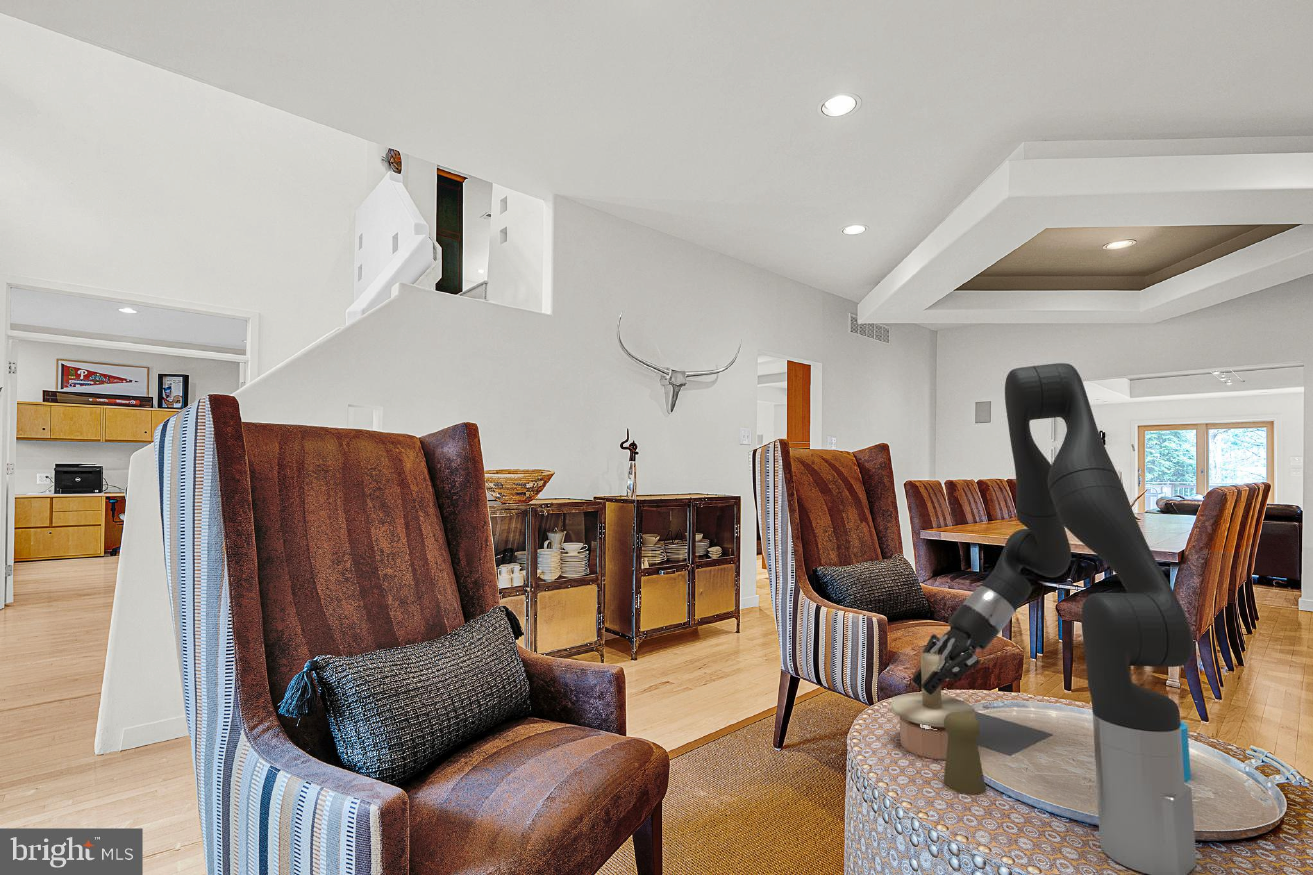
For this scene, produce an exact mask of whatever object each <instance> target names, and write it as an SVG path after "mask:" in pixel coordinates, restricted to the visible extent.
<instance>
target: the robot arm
mask: <svg viewBox="0 0 1313 875" xmlns="http://www.w3.org/2000/svg"><path fill="white" fill-rule="evenodd" d="M1004 383H1005V384H1004V401H1005V410H1006V418H1007V426H1008V432H1009V440H1010V445H1011V451H1012V458H1013V463H1014V471H1015V472H1014V473H1015V488H1016V489H1015V490H1016V492H1015V495H1016V497H1015V500H1016V501H1015V502H1016V503H1015V505H1016V510H1015V511H1016V513H1015V514H1016V518H1017V520H1018V521H1019V523H1020V524H1021V525H1023V526H1024V527H1025V528H1021V529H1020V528H1019V529H1018V530H1016V531H1014V532H1013V533H1012V534H1010V536H1009V537H1008V538H1007V539H1006V542H1005V544H1004V546H1003V549H1002V551H1001V554H1000V555H999V558H998V560H997V562H996V565H995V567H994V568H993V571H992V572H991V573H990V574H989V575H988V577H986V579H985V580H984V581H983V582H982V583H981V584H980V585H979V586H978V588H977V589H976V590H974V591H973V592H972V593H971V594H970V595H969V596H968V597H967V598H966V599H965V601H963V603H962V604H961V605H960V606H959V608H957V610H956V611H954V613H953V614H952V616H950V618H949V619H948V625H949V628H950V629H949V630H947V632H945V633H944V634H943V635H942V636H940V637H938V636H937V635H936V634H935V633H933V634H932V635H931V636H930V637H929V639H928V642H927V643H926V645H925V647H924V649H923V650H922V653H934V654H937V655H939V657H940V663H939V664H938V666H937V667H936V669H935V671H936V672H935V671H933V672H932V673H931V674H930V675H929V676H928V678H927V679H926V680H925V681H924V682H923V683H922V678H921V667H920V668H919V669H918V670H917V672H915V674H914V675H913V676H912V677H911V682H912V683H913V684H914V685H915V686H916V687H918V688H919V689H922V688H923V689H924V690H925V691H926V692H927V693H928V694H930V695H931V694H933V693H934V692H935V691H936V689H937V688H938V687H939V686H940V685H941V686H942V683H943V682H944V681H946V682H947V681H949V680H952V681H953V682H955V681H957V680H959V679H960V678H961V677H963V676H964V675H966V674H967V673H968V672H970V671H971V670H973V669H974V668H975V667H977V666H978V665H979V664H980V663H981V660H980V659H979V658H978V657H977V656H976V654H975V653H976V651H977V650H979V651H980V650H981V651H985V650H986V649H987V648H988V646H989V645H990V644H991V643H992V642H993V641H994V640H995V639H996V638H997V636H998V635H999V634H1000V632H1002V630H1003V629H1004V628H1005V627H1006V625H1007V624H1009V622H1010V620H1011V619H1012V617H1013V616H1014V614H1015V612H1016V611H1017V610H1018V609H1019V608H1020V607H1021V606H1022V605H1023V603H1024V602H1025V601H1026V600H1027V599H1028V598H1029V596H1030V595H1031V593H1032V590H1033V589H1032V584H1031V583H1030V582H1029V580H1027V578H1026V577H1024V576H1023V574H1021V573H1020V572H1021V569H1022V568H1026V569H1029V570H1031V571H1032V572H1035V573H1038V574H1039V575H1041V576H1044V577H1048V578H1057V577H1059V576H1062V575H1063V574H1064V573H1066V571H1067V570H1068V568H1069V566H1070V564H1071V561H1072V549H1071V545H1070V544H1071V543H1070V540H1069V538H1068V535H1067V531H1069V532H1070V534H1072V535H1073V536H1074V537H1075V538H1076V539H1077V540H1079V541H1080V543H1082V544H1083V546H1086V547H1087V548H1088V549H1089V550H1091V551H1092V552H1093V553H1094V554H1095V555H1096V556H1098V557H1099V558H1100V559H1101V560H1102V561H1103V562H1105V563H1106V564H1107V566H1108V567H1110V568H1111V570H1112V571H1113V572H1114V574H1115V575H1116V576H1117V578H1118V579H1119V580H1120V582H1121V584H1122V586H1123V587H1124V589H1125V591H1126V592H1096V593H1095V592H1094V593H1092V594H1089V595H1088V596H1087V597H1086V598H1085V600H1084V601H1083V604H1082V608H1081V615H1080V616H1081V619H1080V622H1081V632H1082V641H1083V650H1084V657H1085V665H1086V666H1085V667H1086V678H1087V686H1088V689H1089V695H1090V699H1091V700H1090V701H1091V709H1092V725H1093V726H1092V727H1093V744H1094V758H1095V759H1094V762H1095V778H1096V779H1095V780H1096V797H1097V814H1098V832H1099V844H1100V848H1101V850H1102V851H1103V852H1104V854H1106V856H1108V857H1109V858H1110V859H1112V860H1113V861H1115V863H1118V864H1120V865H1122V866H1124V867H1126V868H1129V869H1131V870H1134V871H1137V872H1140V873H1142V874H1147V875H1188V874H1189V873H1190V872H1191V871H1192V870H1193V869H1195V867H1196V866H1197V865H1198V864H1197V853H1196V852H1197V851H1196V838H1195V837H1196V836H1195V822H1194V819H1195V818H1194V809H1193V808H1194V806H1193V793H1192V787H1191V786H1190V785H1188V784H1185V782H1184V769H1183V754H1182V739H1181V723H1180V721H1181V714H1180V713H1181V712H1180V708H1179V706H1178V704H1177V702H1175V701H1174V700H1173V699H1172V698H1170V697H1169V696H1167V695H1164V694H1163V693H1160V692H1157V691H1155V690H1151V689H1148V688H1146V687H1143V686H1140V685H1138V684H1136V683H1134V682H1133V681H1132V678H1131V673H1130V667H1151V668H1153V667H1155V668H1175V667H1184V666H1185V665H1187V664H1188V663H1189V662H1190V661H1191V660H1192V657H1193V655H1194V650H1195V646H1194V638H1193V632H1192V628H1191V625H1190V622H1189V620H1188V616H1187V615H1186V613H1185V611H1184V609H1183V606H1182V605H1181V603H1180V600H1179V599H1178V597H1177V595H1176V593H1175V591H1174V590H1173V588H1172V586H1171V584H1170V583H1169V581H1168V579H1167V577H1166V576H1165V573H1164V572H1163V571H1162V568H1161V567H1160V565H1159V563H1158V561H1157V560H1156V558H1155V556H1154V554H1153V552H1152V551H1151V548H1150V547H1149V544H1148V542H1147V540H1146V538H1145V535H1144V533H1143V531H1142V530H1141V527H1140V525H1139V522H1138V520H1137V518H1136V515H1135V513H1134V511H1133V508H1132V506H1131V505H1132V504H1131V503H1130V500H1129V498H1128V494H1127V492H1126V490H1125V487H1124V485H1123V483H1122V480H1121V478H1120V476H1119V474H1118V472H1117V470H1116V468H1115V465H1114V464H1113V461H1112V460H1111V457H1110V454H1109V453H1108V450H1107V448H1106V446H1105V444H1104V442H1103V438H1102V437H1101V434H1100V432H1099V429H1098V426H1097V424H1096V419H1095V417H1094V414H1093V410H1092V407H1091V403H1090V401H1089V397H1088V395H1087V391H1086V388H1085V385H1084V382H1083V380H1082V377H1081V376H1080V374H1079V372H1078V370H1077V369H1076V368H1075V366H1074V365H1072V364H1070V363H1065V362H1064V363H1063V362H1057V363H1047V364H1039V365H1032V366H1031V365H1030V366H1023V367H1017V368H1013V369H1011V370H1010V371H1009V372H1008V373H1007V376H1006V378H1005V382H1004ZM1054 418H1055V419H1056V418H1061V419H1062V420H1063V421H1064V423H1065V426H1066V433H1065V436H1064V439H1063V441H1062V444H1061V446H1060V448H1059V450H1058V452H1057V454H1056V455H1055V457H1054V460H1053V461H1052V464H1051V463H1050V461H1049V459H1048V458H1047V457H1046V456H1045V455H1044V453H1043V452H1042V450H1040V448H1039V446H1038V445H1037V443H1036V442H1035V440H1034V438H1033V435H1032V432H1031V426H1030V421H1033V420H1044V419H1054ZM1066 529H1067V531H1066ZM919 658H920V659H921V655H920V657H919Z"/></svg>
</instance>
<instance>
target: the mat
mask: <svg viewBox="0 0 1313 875" xmlns="http://www.w3.org/2000/svg"><path fill="white" fill-rule="evenodd" d="M975 718H976V719H977V721H978V722H979V725H980V732H979V736H978V737H977V738H976V739H977V744H978V747H982V748H985V749H988V750H991V751H994V752H997V753H999V754H1002V755H1005V756H1009V757H1010V756H1013V755H1015V754H1017V753H1018V752H1021V751H1023V750H1026V749H1027V748H1029V747H1031V746H1033V745H1035V744H1037V743H1039V742H1041V741H1044V740H1046V739H1048V738H1050V737H1052V736H1054V733H1050V732H1048V731H1044V730H1040V729H1038V728H1037V729H1036V728H1033V727H1030V726H1026V725H1023V724H1020V723H1016V722H1012V721H1009V720H1006V719H1002V718H998V717H996V716H992V715H989V714H986V713H983V712H979V711H976V710H975Z"/></svg>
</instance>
